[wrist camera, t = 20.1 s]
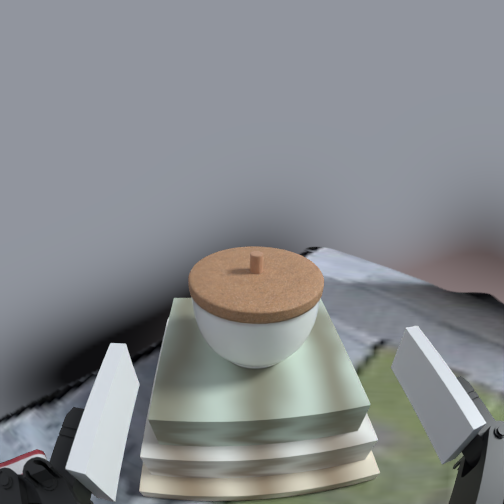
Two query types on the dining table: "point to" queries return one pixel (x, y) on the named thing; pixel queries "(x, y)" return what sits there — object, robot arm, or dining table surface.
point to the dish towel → (22, 461)
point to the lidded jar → (255, 303)
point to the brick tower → (254, 420)
